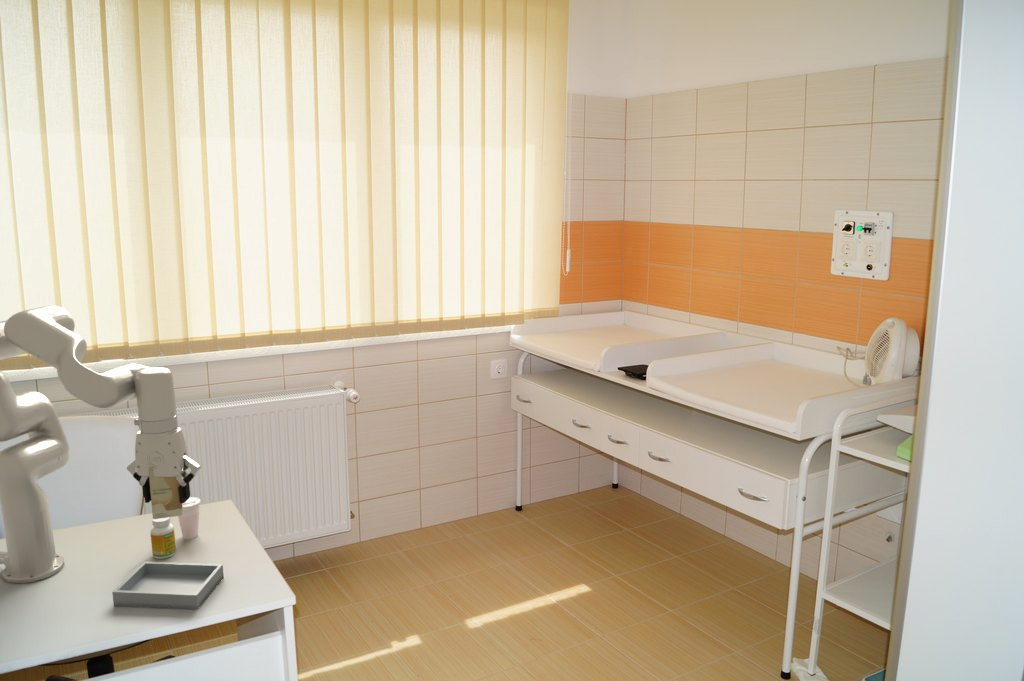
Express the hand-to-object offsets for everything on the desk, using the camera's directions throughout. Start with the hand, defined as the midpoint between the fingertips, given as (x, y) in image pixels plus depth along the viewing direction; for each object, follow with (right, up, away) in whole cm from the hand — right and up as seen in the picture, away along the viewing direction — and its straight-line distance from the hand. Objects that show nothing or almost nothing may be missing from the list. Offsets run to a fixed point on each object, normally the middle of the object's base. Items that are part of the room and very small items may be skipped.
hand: (167, 500), depth 173 cm
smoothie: (-8, -16, +32) cm, 37 cm away
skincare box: (0, -3, +1) cm, 4 cm away
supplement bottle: (-11, -18, +22) cm, 31 cm away
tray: (-2, -22, +5) cm, 23 cm away
